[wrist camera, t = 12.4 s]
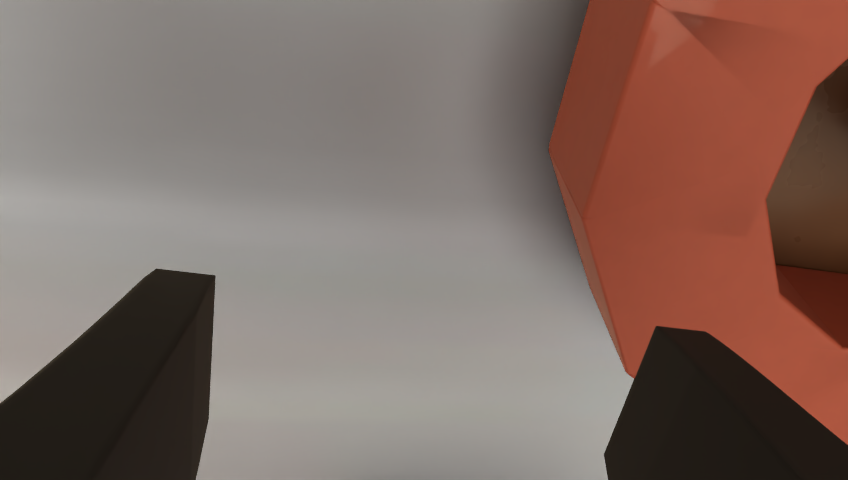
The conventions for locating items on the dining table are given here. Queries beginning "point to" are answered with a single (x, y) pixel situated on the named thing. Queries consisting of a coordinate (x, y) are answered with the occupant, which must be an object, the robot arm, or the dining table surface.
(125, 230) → the dining table surface
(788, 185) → the stand
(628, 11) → the ring
